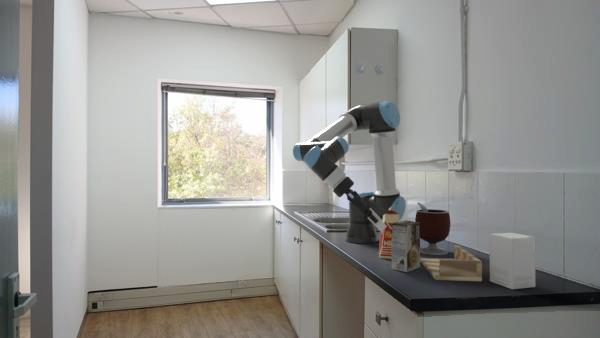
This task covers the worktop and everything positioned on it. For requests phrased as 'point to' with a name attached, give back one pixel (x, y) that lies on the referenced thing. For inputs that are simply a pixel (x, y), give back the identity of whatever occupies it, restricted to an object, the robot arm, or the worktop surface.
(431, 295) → the worktop surface
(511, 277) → the supplement box
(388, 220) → the milk carton
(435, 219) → the mate gourd
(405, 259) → the coffee box
